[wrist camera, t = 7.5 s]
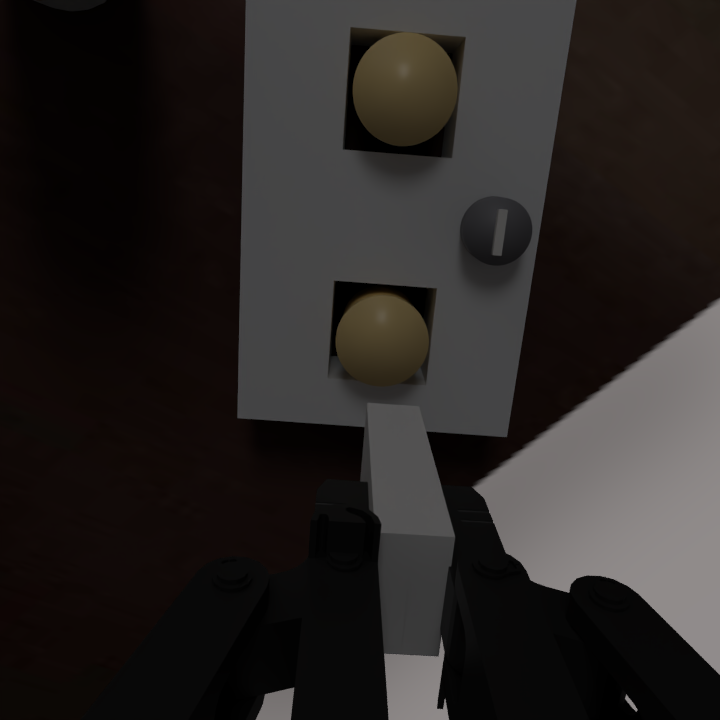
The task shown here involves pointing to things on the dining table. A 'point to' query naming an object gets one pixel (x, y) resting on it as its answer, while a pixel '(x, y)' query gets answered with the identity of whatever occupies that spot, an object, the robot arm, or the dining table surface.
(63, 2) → the coffee cup
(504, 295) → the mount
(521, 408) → the dining table surface
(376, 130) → the knob
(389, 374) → the knob
